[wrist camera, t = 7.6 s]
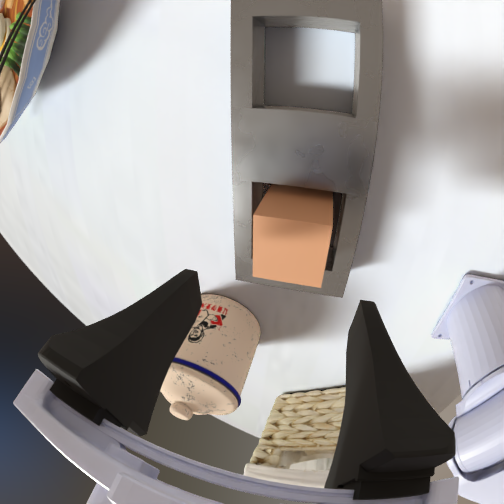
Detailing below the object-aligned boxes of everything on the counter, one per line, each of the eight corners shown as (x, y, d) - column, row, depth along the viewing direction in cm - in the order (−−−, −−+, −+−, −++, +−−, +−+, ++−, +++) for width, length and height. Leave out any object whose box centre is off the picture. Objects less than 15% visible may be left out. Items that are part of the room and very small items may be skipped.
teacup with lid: (230, 279, 25) (175, 389, 16) (279, 341, 28) (250, 441, 19) (155, 306, 31) (103, 383, 22) (201, 354, 34) (165, 428, 25)
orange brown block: (332, 184, 18) (332, 226, 13) (325, 235, 20) (320, 288, 15) (275, 177, 19) (252, 214, 14) (273, 227, 21) (252, 276, 16)
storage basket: (399, 430, 37) (393, 500, 25) (320, 439, 44) (306, 502, 33) (377, 372, 28) (369, 489, 16) (264, 388, 36) (234, 480, 24)
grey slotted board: (246, 0, 12) (231, -13, 9) (373, 7, 10) (381, -7, 7) (246, 257, 23) (235, 279, 21) (342, 272, 21) (342, 297, 19)
